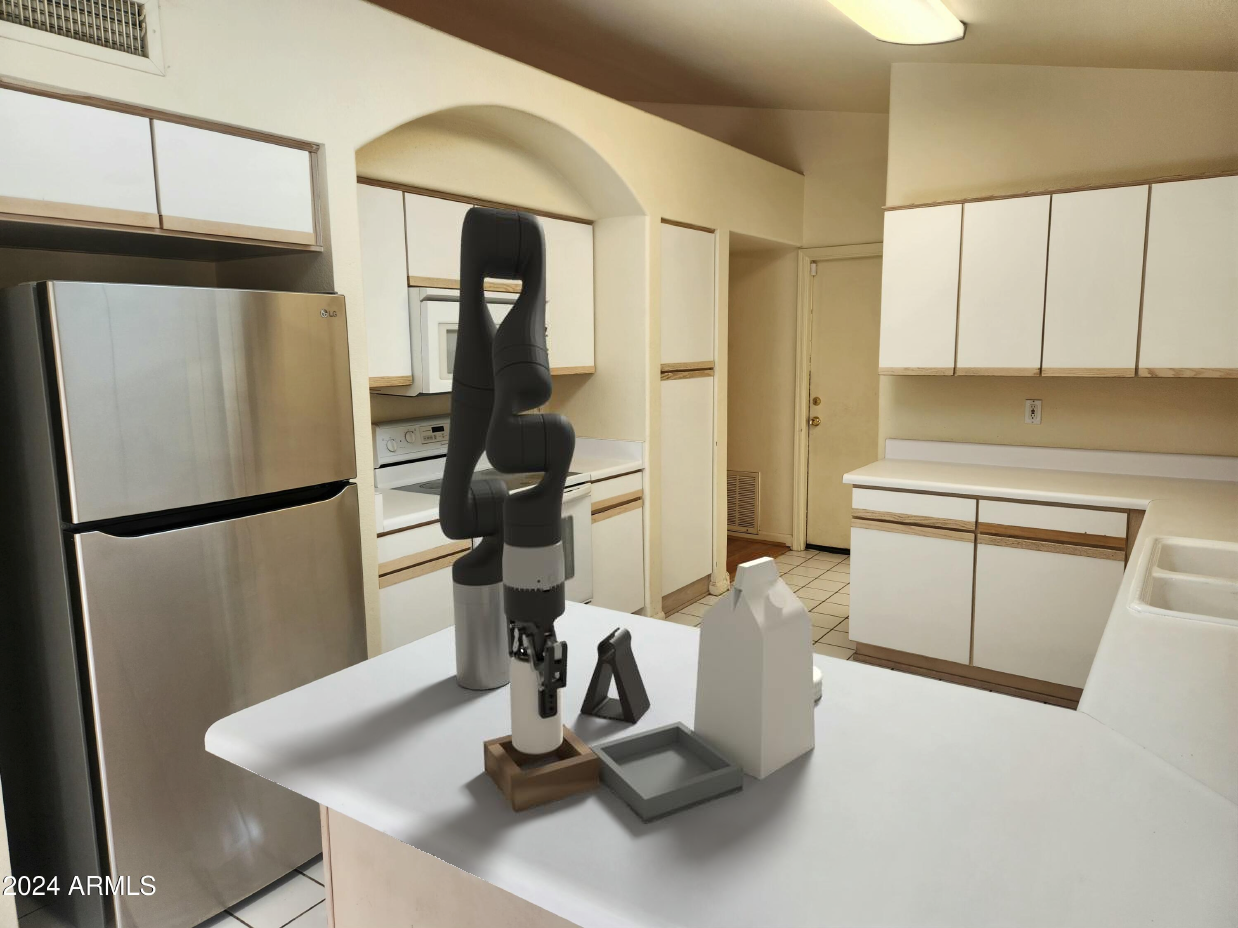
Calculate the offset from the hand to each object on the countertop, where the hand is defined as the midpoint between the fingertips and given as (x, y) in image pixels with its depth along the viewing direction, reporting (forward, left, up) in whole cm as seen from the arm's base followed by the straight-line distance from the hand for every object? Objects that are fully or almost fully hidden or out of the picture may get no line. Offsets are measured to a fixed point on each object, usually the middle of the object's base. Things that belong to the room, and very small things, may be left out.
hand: (537, 704), depth 101 cm
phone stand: (-12, +18, -10) cm, 23 cm away
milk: (+7, +29, -10) cm, 31 cm away
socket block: (0, 0, -10) cm, 10 cm away
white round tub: (-4, +45, -10) cm, 46 cm away
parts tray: (+8, +14, -10) cm, 19 cm away
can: (0, 0, -5) cm, 5 cm away
